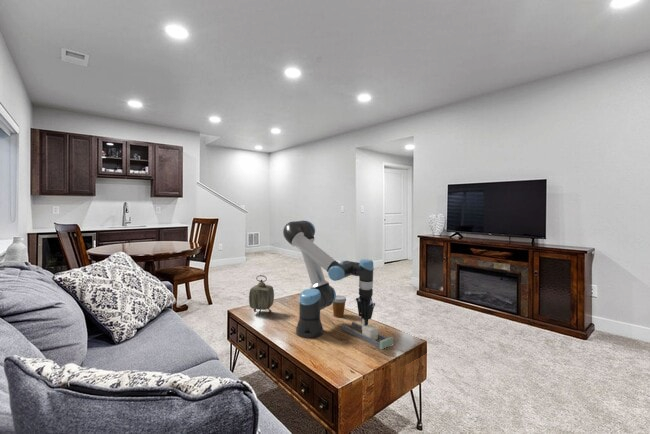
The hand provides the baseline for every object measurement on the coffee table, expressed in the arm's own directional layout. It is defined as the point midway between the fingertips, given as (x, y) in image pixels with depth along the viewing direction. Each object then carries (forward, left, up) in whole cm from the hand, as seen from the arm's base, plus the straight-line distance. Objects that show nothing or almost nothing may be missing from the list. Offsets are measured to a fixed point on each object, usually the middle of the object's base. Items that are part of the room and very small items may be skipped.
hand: (364, 330), depth 173 cm
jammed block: (0, -4, -3) cm, 5 cm away
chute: (0, -1, -3) cm, 3 cm away
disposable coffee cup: (+8, +31, -4) cm, 33 cm away
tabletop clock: (-31, +63, -4) cm, 71 cm away
